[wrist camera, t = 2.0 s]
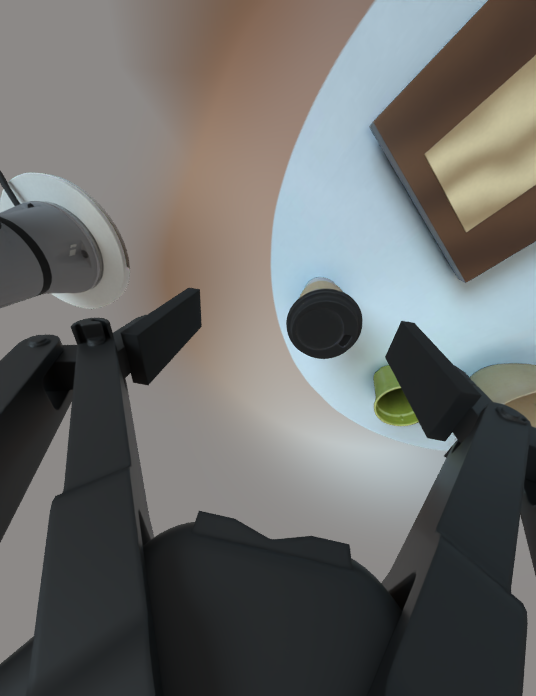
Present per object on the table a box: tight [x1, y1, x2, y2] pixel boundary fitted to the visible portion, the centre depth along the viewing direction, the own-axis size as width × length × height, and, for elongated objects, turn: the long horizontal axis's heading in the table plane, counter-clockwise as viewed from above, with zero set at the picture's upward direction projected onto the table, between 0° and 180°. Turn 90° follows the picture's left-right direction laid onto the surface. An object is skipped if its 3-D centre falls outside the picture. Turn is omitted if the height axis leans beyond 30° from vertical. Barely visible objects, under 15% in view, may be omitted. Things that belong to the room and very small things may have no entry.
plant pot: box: [373, 365, 419, 426], centre depth 44 cm, size 9×9×9 cm
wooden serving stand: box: [370, 0, 536, 283], centre depth 27 cm, size 24×16×4 cm, turn 43°
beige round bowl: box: [470, 363, 536, 428], centre depth 39 cm, size 18×18×12 cm
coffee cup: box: [286, 277, 362, 359], centre depth 34 cm, size 9×9×15 cm
